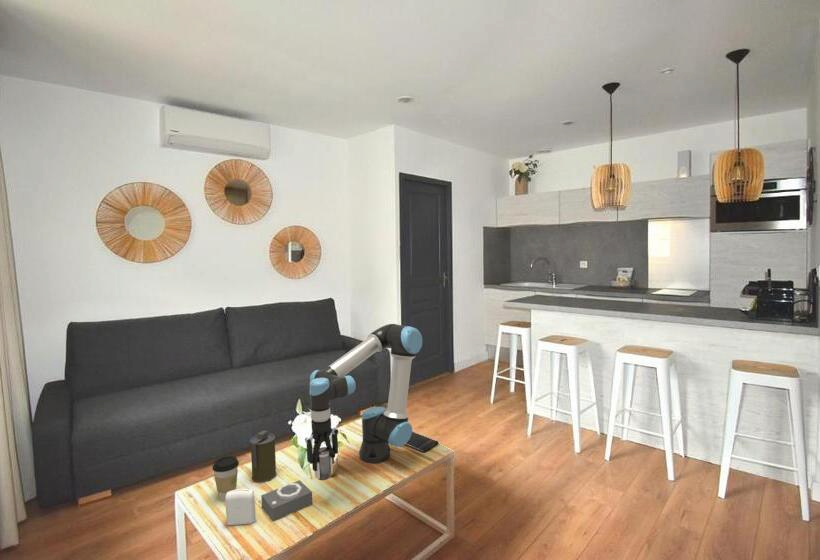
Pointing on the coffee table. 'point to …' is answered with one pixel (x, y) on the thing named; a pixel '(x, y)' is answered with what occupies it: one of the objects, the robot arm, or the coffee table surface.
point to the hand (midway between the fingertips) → (324, 474)
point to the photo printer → (240, 507)
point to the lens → (324, 463)
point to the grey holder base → (286, 500)
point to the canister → (263, 457)
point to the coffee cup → (225, 475)
